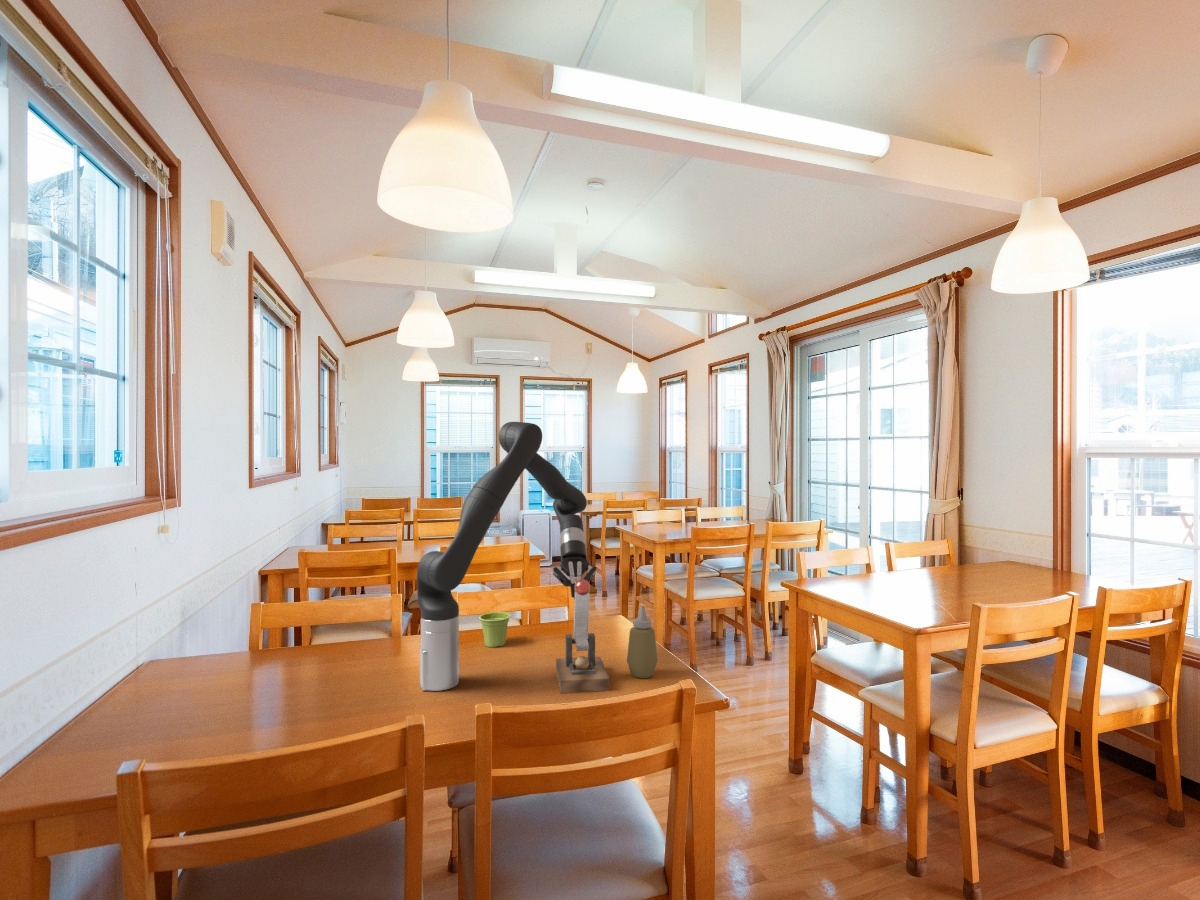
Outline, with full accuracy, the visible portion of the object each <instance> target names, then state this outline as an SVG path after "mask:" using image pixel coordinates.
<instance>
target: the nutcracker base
mask: <svg viewBox="0 0 1200 900" xmlns="http://www.w3.org/2000/svg"><path fill="white" fill-rule="evenodd" d="M574 644H575V645H576V643H575V641H574V638H573V634H571V633H566V634H565V658H564V657H563V658H561V657H560V658H556V659H555V663H556V664H555V671H557V672H556V676H557V682H559V683H558V687H560V688H559V693H560V694H569V693H571V692H572V693H587V692H588V691H592V692H603V691H604V692H606V690H609V691H610V676H609V674H608V672H607V670H606V667H605V665H604V662H603V660H602V658H601V656H596V635H595V633H594V632H588V645H589V649H588V651H587V656H585V657H586V658H587V659H588V661H589V666H588V668H587V669H586V670H579V669H577V667H576V665H575V661H576V659H577V658H578V657H573V645H574ZM572 693H571V694H572Z"/></svg>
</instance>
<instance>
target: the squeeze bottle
mask: <svg viewBox="0 0 1200 900" xmlns="http://www.w3.org/2000/svg"><path fill="white" fill-rule="evenodd" d="M646 611H647V610H646V607H645V605H640V606H639V610H638V614H637V617H636V618H634V619H633V621H632V622H633V624H632V626H633V627H631V628H629V634H628V635H629V638H628V646H627V656H626V662H627V666H628V668H629V672H630V674H632V675H631V676H633V677H634V678H637V677H638V678H639V679H647V678H648V679H649V678H652V677H653V676H654V674H655V670H656V667H657V664H658V662H659V661H658V652H657V650H658V649H657V642H656V632H655V629H654V628H653V627H652V620H651V619H650V618H648V617H647V612H646Z"/></svg>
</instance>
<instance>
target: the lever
mask: <svg viewBox="0 0 1200 900" xmlns="http://www.w3.org/2000/svg"><path fill="white" fill-rule="evenodd" d="M574 588H575V599H574V601H573V602H574V604H573V631H572V632H573V634H572V638H573V639H574V641H575V643H576V644H575V649H576V652H588V649H589V645H588V633H589V618H590V617H589V614H590V613H589V612H590V591H591V585H590V581H589V582H588V581H586V580H584V579H582V578H581V580H578V581H577V582H576V581H575V587H574Z"/></svg>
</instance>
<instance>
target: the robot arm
mask: <svg viewBox="0 0 1200 900" xmlns="http://www.w3.org/2000/svg"><path fill="white" fill-rule="evenodd" d="M542 441H543V431H542V429H541V427H540V426H539V425H538V424H536V423H531V422H525V421H524V422H522V421H507V422H506V423H505V424H503V425H502V426H501V427H500V429H499V432H498V442H499V445H500V447H501V449H502V450H504V451H505V452H506V453H507V454H506V456H505V457H504V458H503V459H502V460H501V462H500V463H497V464H496V466H494V467H493V468H492V469H490V470H489V471H488V472H486V473H485V474H484V475H482V476H481V477H480V478H479V479H478V480H476V482H475V484H474V485H473V486H472V488H471V490H470V491H469V493H468V494H467V495H466V498H465V500H464V501H463V503H462V506H461V510H460V516H459V524H458V529H457V531H456V534H455V536H454V537H453V539H452V540H451V542H450V544H449V545H448V547H447V548H446V549H445V551H439V550H434V551H433V550H432V551H428V552H427V553H425V554H424V555H423V556H422V557H421V558H420V561H419V562H418V564H417V571H416V587H417V590H416V591H417V604H418V606H419V610H420V612H421V613H420V623H421V624H420V639H421V640H420V645H419V684H420V686H421V689H422V692H423V691H424V692H425V691H433V692H435V691H437V692H438V691H445V690H449V689H452V688H455V687H456V686H457V685H458V684H459V681H460V678H459V677H460V670H459V669H460V663H459V662H460V656H459V655H460V649H459V648H460V630H459V629H460V623H459V622H460V606H459V603H458V601H456V599H455V597H454V596H453V594H452V591H453V590H454V589H456V588H457V587H459V585H460V584H461V583H462V582H463V579H464V578H465V576H466V574H467V572H468V569H469V567H470V566H471V563H472V561H473V560H474V556H475V554H476V552H477V550H478V548H479V546H480V545H481V543H482V541H483V539H484V537H485V536H486V534H487V533H488V530H489V528H490V526H491V525H492V523H493V521H494V520H495V518H496V517H497V515H498V513H499V512H500V510H501V508H503V507H502V506H503V505H504V503H505V501H507V497H508V496H509V494H510V493H511V491H512V489H513V488H514V486H515V484H516V483H517V481H518V480H519V478H520V476H521V475H522V474H523V472H524V470H526V471H527V472H528V473H529V474H530V475H531V476H532V478H534V479H535V481H536V482H537V483H539V485H540V486H541V488H542V489H543V490H544V492H545V493H546V494H547V495H548V496H549V498H551V499H553V500H554V501H553V503H552V508H553V511H554V513H555V515H556V517H557V520H558V523H559V533H560V537H559V549H560V562H559V565H558V566H557V567H553V570H552V575H553V577H555V578H556V579H557V580H558V581H559V582H560V583H561V584H562V585H563V586H564V587H569V588H570V596H571V598H573V600H575V588H574V587H575V584H576V582H577V581H578V580H581V579H582V576H584V575H585V576H584V577H583V579H584V580H586V581H588V582H589V583H590V582H591V580H592V579H593V577H594V576H595V575H597V574H596V572H597V567H596V566H592V565H590V563H589V561H588V557H587V547H586V537H585V535H584V534H585V533H584V523H583V519H582V517H581V516H580V515H578V514H579V513H581V512H583V511H585V510H586V508H587V505H588V501H587V498H586V496H585V494H584V493H583V492H582V490H580V489H579V488H577V487H576V486H574V485H573V484H571V483H570V482H569V481H567V480H566V478H565V477H564V476H563V474H562V472H560V470H559V469H558V468H557V467H556V466H555V465H553V464H552V463H551V462H550V461H548V459H546V458H544V457H543V456H542V455H541V454H539V453H538V451H539V450H540V447H541V445H542ZM586 571H587V573H586ZM585 573H586V574H585Z"/></svg>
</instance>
